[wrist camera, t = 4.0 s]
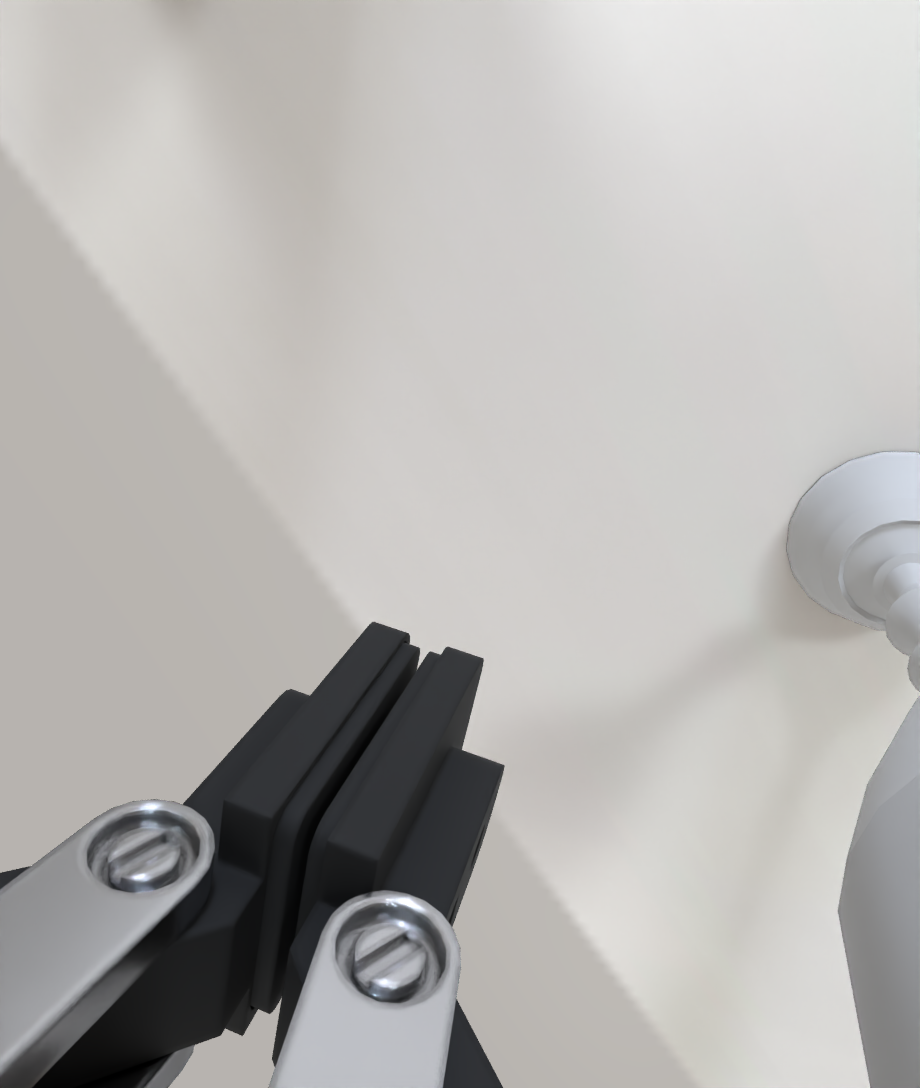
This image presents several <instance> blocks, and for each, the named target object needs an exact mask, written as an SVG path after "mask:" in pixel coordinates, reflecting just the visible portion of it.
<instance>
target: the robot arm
mask: <svg viewBox="0 0 920 1088" xmlns="http://www.w3.org/2000/svg"><path fill="white" fill-rule="evenodd" d="M409 643H410V635H409V633H406V632H403V631H400V630H397V629H394V628H391V627H388V626H385V625H382V624H379V623H376V622H372V623H371V624H370V625H369V626H368V627H367V628H366V629H365V631H364V632H363V633H362V634H361V635H360V637H359V638H358V639H357V640H356V641H355V643H354V644H353V645H352V646H351V647H350V649H349V650H348V651H347V652H346V653H345V655H344V656H343V657H342V658H341V659H340V661H339V662H338V663H337V664H336V665H335V667H334V668H333V669H332V670H331V671H330V673H329V674H328V675H327V676H326V677H325V678H324V680H323V681H322V682H321V683H320V685H319V686H318V687H317V688H316V689H315V691H314V692H313V693H312V694H311V695H310V696H309V695H306V694H304V693H301V692H298V691H295V690H292V689H290V690H286V691H285V692H284V693H283V694H282V695H281V696H280V697H279V698H278V699H277V700H276V701H275V702H274V703H273V704H272V705H271V707H270V708H269V709H268V710H267V711H266V712H265V713H264V715H262V717H261V718H260V719H259V720H258V721H257V722H256V723H255V724H254V726H253V727H252V728H251V729H250V730H249V731H248V732H247V733H246V734H245V735H244V737H243V738H242V739H241V740H240V741H239V742H238V743H237V745H236V746H235V747H234V748H233V749H232V750H231V751H230V752H229V753H228V755H227V756H226V757H225V758H224V759H223V760H222V761H221V762H220V763H219V765H218V766H217V767H216V768H215V769H214V770H213V771H212V772H211V774H210V775H209V776H208V777H207V778H206V779H205V780H204V781H203V782H202V784H201V785H200V786H199V787H198V788H197V789H196V790H195V791H194V792H193V794H192V795H191V796H190V797H189V798H188V799H187V800H186V801H185V802H184V803H183V805H182V804H180V803H177V802H174V801H166V800H158V799H151V800H140V801H132V802H129V803H126V804H123V805H120V806H117V807H113V808H111V809H109V810H108V811H106V812H104V813H103V814H101V815H99V816H97V817H96V818H94V819H93V820H91V821H90V822H89V823H87V824H86V825H85V826H83V827H82V828H81V829H79V830H78V831H77V832H76V833H74V834H73V835H72V836H70V837H69V838H68V839H66V840H65V841H64V842H62V843H61V844H60V845H58V846H57V847H56V848H54V849H53V850H52V851H50V852H49V853H48V854H46V855H45V856H44V857H43V858H41V859H40V860H38V861H37V862H36V863H34V864H33V865H32V866H30V867H25V868H20V869H16V870H11V871H7V872H2V873H0V1088H168V1087H169V1086H170V1085H171V1083H172V1082H173V1081H174V1080H175V1078H176V1077H177V1076H178V1075H179V1074H180V1072H181V1071H182V1070H183V1068H184V1066H185V1065H186V1063H187V1061H188V1060H189V1058H190V1056H191V1055H192V1053H193V1050H194V1046H195V1044H198V1043H201V1042H204V1041H207V1040H209V1039H212V1038H215V1037H218V1036H220V1035H221V1034H222V1032H223V1031H224V1029H225V1028H226V1029H228V1030H230V1031H233V1032H235V1033H237V1034H239V1035H242V1036H243V1035H244V1033H245V1031H246V1029H247V1028H248V1026H249V1024H250V1022H251V1021H252V1019H253V1017H254V1015H255V1014H256V1012H257V1010H258V1009H260V1010H262V1011H264V1012H266V1013H269V1014H270V1013H271V1012H273V1010H274V1009H275V1008H276V1006H277V1004H278V1003H279V1001H280V999H281V997H282V1001H281V1007H280V1013H279V1019H278V1025H277V1031H276V1038H275V1044H274V1050H273V1057H272V1060H273V1063H274V1066H275V1070H274V1072H273V1075H272V1078H271V1081H270V1084H269V1087H268V1088H503V1087H502V1085H501V1083H500V1081H499V1079H498V1077H497V1075H496V1073H495V1072H494V1070H493V1068H492V1066H491V1064H490V1062H489V1060H488V1058H487V1056H486V1054H485V1053H484V1051H483V1049H482V1047H481V1045H480V1043H479V1041H478V1039H477V1037H476V1035H475V1033H474V1032H473V1030H472V1028H471V1026H470V1024H469V1022H468V1020H467V1018H466V1016H465V1014H464V1012H463V1011H462V1009H461V1007H460V1005H459V1003H458V1001H457V999H456V997H457V990H458V983H459V977H460V970H461V957H460V956H461V955H460V946H459V943H458V940H457V938H456V935H455V932H454V930H453V928H452V926H453V923H454V921H455V918H456V915H457V912H458V909H459V907H460V904H461V901H462V899H463V896H464V893H465V890H466V888H467V885H468V882H469V879H470V877H471V874H472V871H473V868H474V865H475V863H476V860H477V857H478V854H479V851H480V848H481V845H482V842H483V839H484V836H485V833H486V829H487V826H488V823H489V820H490V817H491V813H492V810H493V807H494V803H495V800H496V796H497V793H498V789H499V786H500V782H501V779H502V775H503V771H504V765H502V764H499V763H496V762H494V761H491V760H488V759H485V758H482V757H480V756H477V755H474V754H471V753H468V752H466V751H463V750H462V746H463V742H464V738H465V735H466V731H467V727H468V723H469V719H470V715H471V711H472V707H473V703H474V699H475V695H476V691H477V687H478V684H479V680H480V676H481V672H482V667H483V661H484V660H483V658H480V657H477V656H474V655H471V654H468V653H465V652H462V651H459V650H456V649H453V648H450V647H446V648H445V650H444V651H443V653H442V654H441V655H439V654H437V653H434V652H429V653H428V654H427V656H426V657H425V659H424V660H423V662H422V663H421V665H420V666H419V668H418V670H417V665H418V661H419V655H420V648H419V647H416V646H413V645H410V644H409ZM416 670H417V671H416Z"/></svg>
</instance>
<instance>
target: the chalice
mask: <svg viewBox="0 0 920 1088" xmlns="http://www.w3.org/2000/svg"><path fill="white" fill-rule="evenodd" d="M787 554H788V558H789V561H790V565H791V569H792V573H793V576H794V577H795V578H796V580H797V581H798V583H799V584H800V585H801V587H802V588H803V590H804V591H805V592H806V594H807V595H808V597H810V598H811V599H813V600H814V601H815V602H817V603H818V604H819V605H821V606H822V607H824V608H825V609H826V610H828V611H829V612H830V613H833V614H836V615H839V616H842V617H843V618H846V619H849V620H851V621H854V622H855V623H858V624H861V625H864V626H866V627H869V628H872V629H875V630H881V631H886V634H887V637H888V639H889V640H890V642H891V643H892V645H893V646H894V647H895V648H896V649H898V650H899V651H900V652H902V653H903V654H906V655H908V656H910V657H909V663H908V668H907V669H908V674H909V679H910V681H911V682H912V684H913V685H914V687H915V688H916V689H917V690H918V691H919V692H920V453H917V452H879V453H876V454H872V455H868V456H864V457H860V458H857V459H853V460H850V461H848V462H846V463H844V464H843V465H841V466H839V467H838V468H836V469H834V470H832V471H831V472H829V473H827V474H825V475H824V476H822V477H821V478H820V479H819V480H818V481H817V482H816V483H815V484H814V486H813V487H812V488H811V489H810V490H809V491H808V492H807V493H806V494H805V495H804V496H803V497H802V498H801V500H800V502H799V504H798V506H797V508H796V511H795V513H794V515H793V517H792V519H791V521H790V523H789V530H788V540H787ZM838 914H839V920H840V925H841V931H842V936H843V942H844V947H845V952H846V958H847V963H848V969H849V974H850V980H851V985H852V990H853V996H854V1001H855V1007H856V1012H857V1017H858V1023H859V1028H860V1034H861V1039H862V1045H863V1050H864V1055H865V1061H866V1066H867V1072H868V1077H869V1083H870V1088H920V696H919V697H918V698H917V700H916V701H915V703H914V705H913V706H912V708H911V710H910V711H909V713H908V715H907V716H906V718H905V720H904V721H903V723H902V725H901V726H900V728H899V730H898V732H897V733H896V735H895V737H894V739H893V740H892V742H891V744H890V746H889V747H888V749H887V751H886V753H885V754H884V756H883V758H882V759H881V761H880V763H879V765H878V766H877V768H876V770H875V772H874V773H873V775H872V777H871V779H870V780H869V782H868V784H867V787H866V791H865V794H864V798H863V802H862V805H861V809H860V813H859V816H858V820H857V823H856V827H855V831H854V834H853V838H852V842H851V845H850V849H849V852H848V856H847V861H846V867H845V872H844V878H843V884H842V889H841V895H840V901H839V907H838Z"/></svg>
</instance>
